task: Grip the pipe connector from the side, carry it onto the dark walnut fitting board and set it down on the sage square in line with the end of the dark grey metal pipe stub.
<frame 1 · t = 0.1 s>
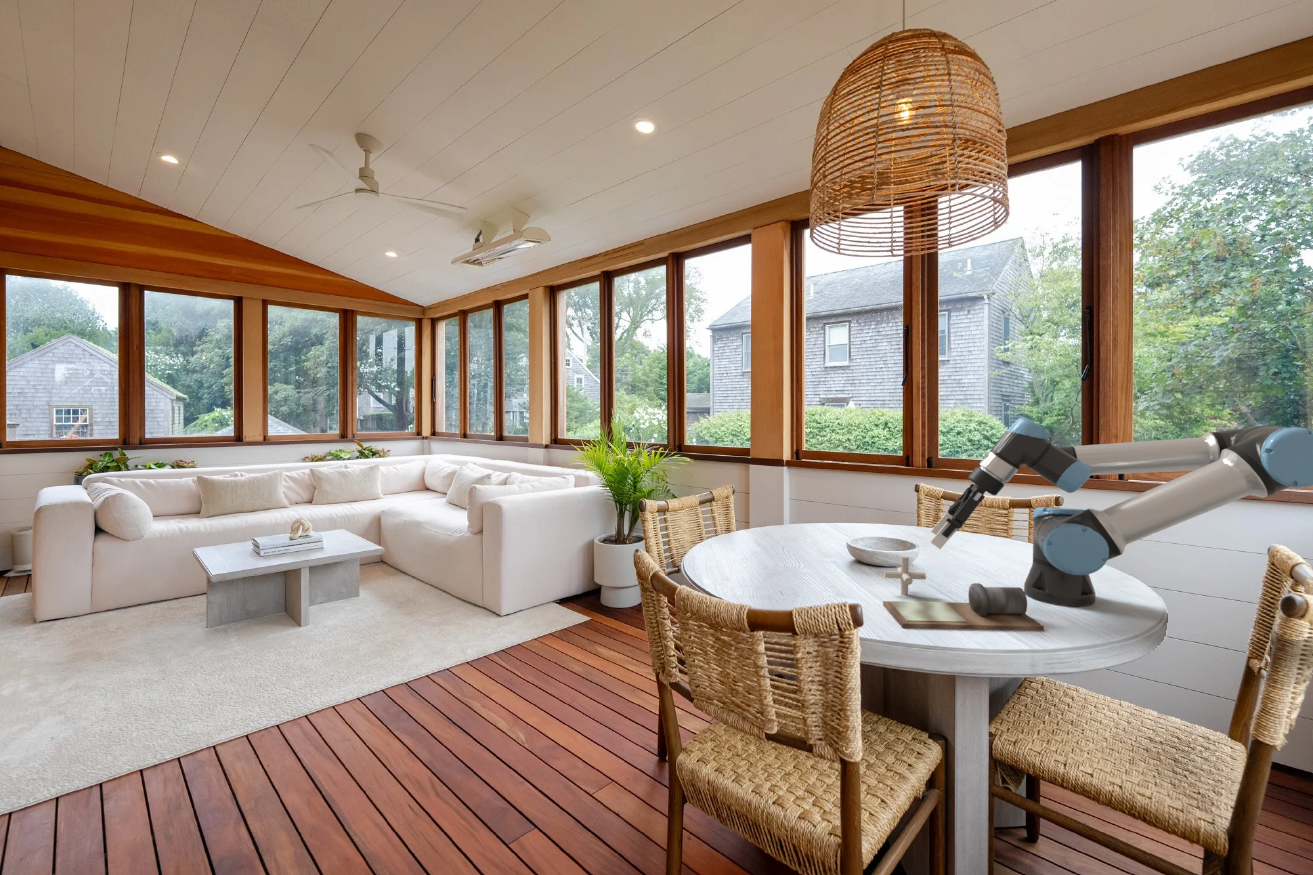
hand: (935, 539, 151), 15 cm above the table, tool tilted 35°, fingers open, 13 cm apart
fitting board: (958, 617, 138), on the table
pipe connector: (904, 594, 155), on the table
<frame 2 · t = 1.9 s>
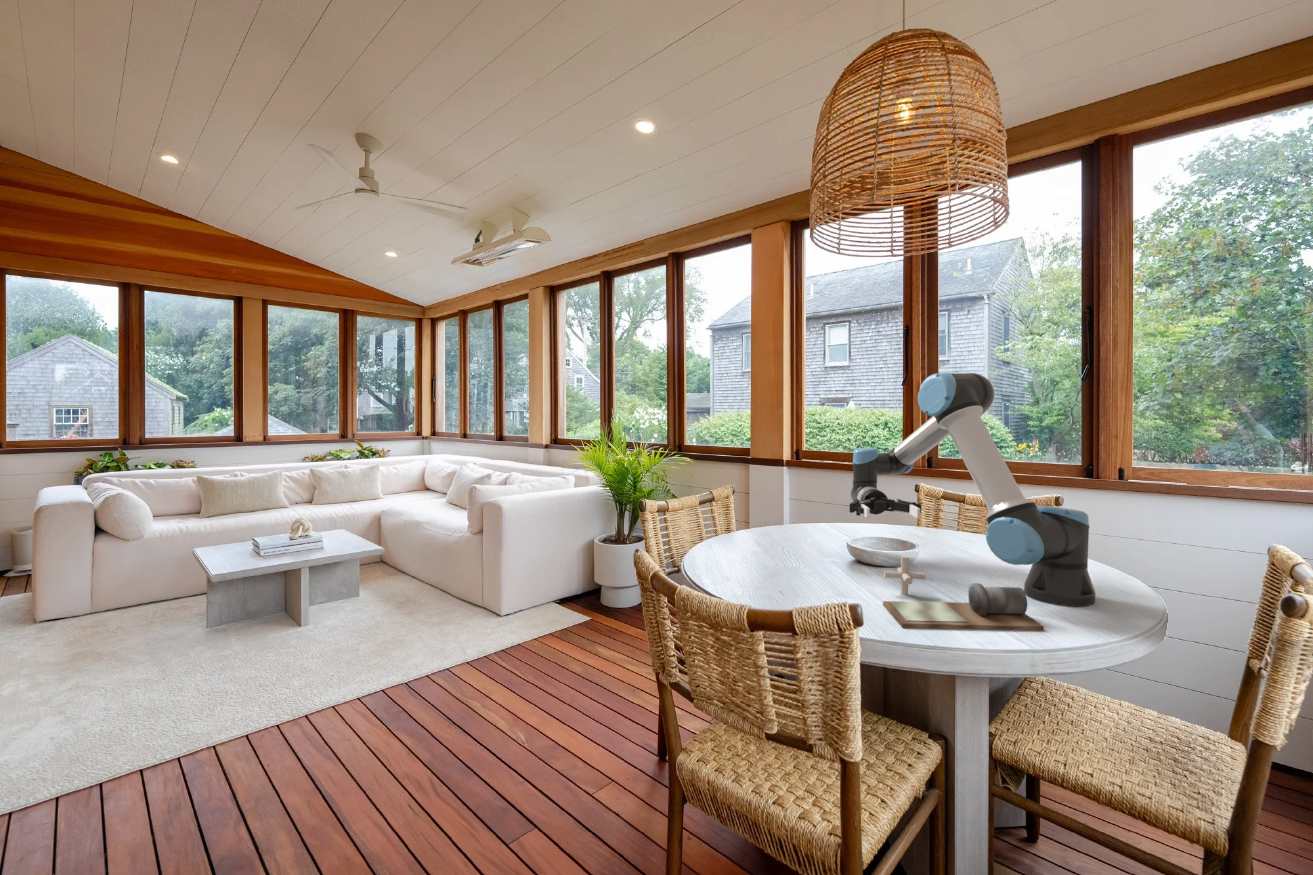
hand: (893, 513, 164), 20 cm above the table, tool horizontal, fingers open, 13 cm apart
nothing on the table moved.
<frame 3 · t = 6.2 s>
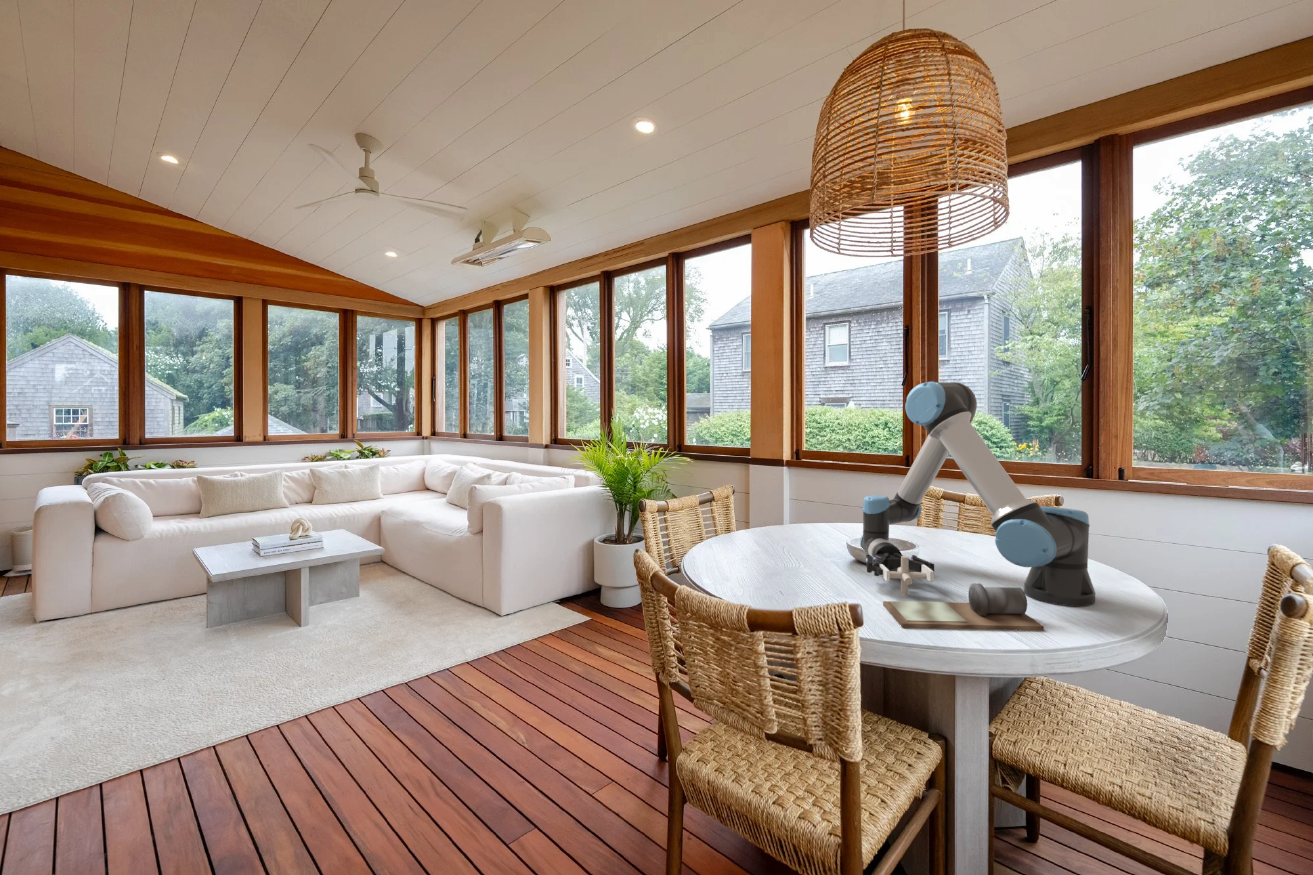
hand: (910, 576, 151), 6 cm above the table, tool horizontal, fingers closed on pipe connector, 10 cm apart
pipe connector: (904, 594, 155), on the table, touching gripper
when the fingers open (9 cm above the table, at t = 11.6 s): pipe connector drops 1 cm, resting on fitting board.
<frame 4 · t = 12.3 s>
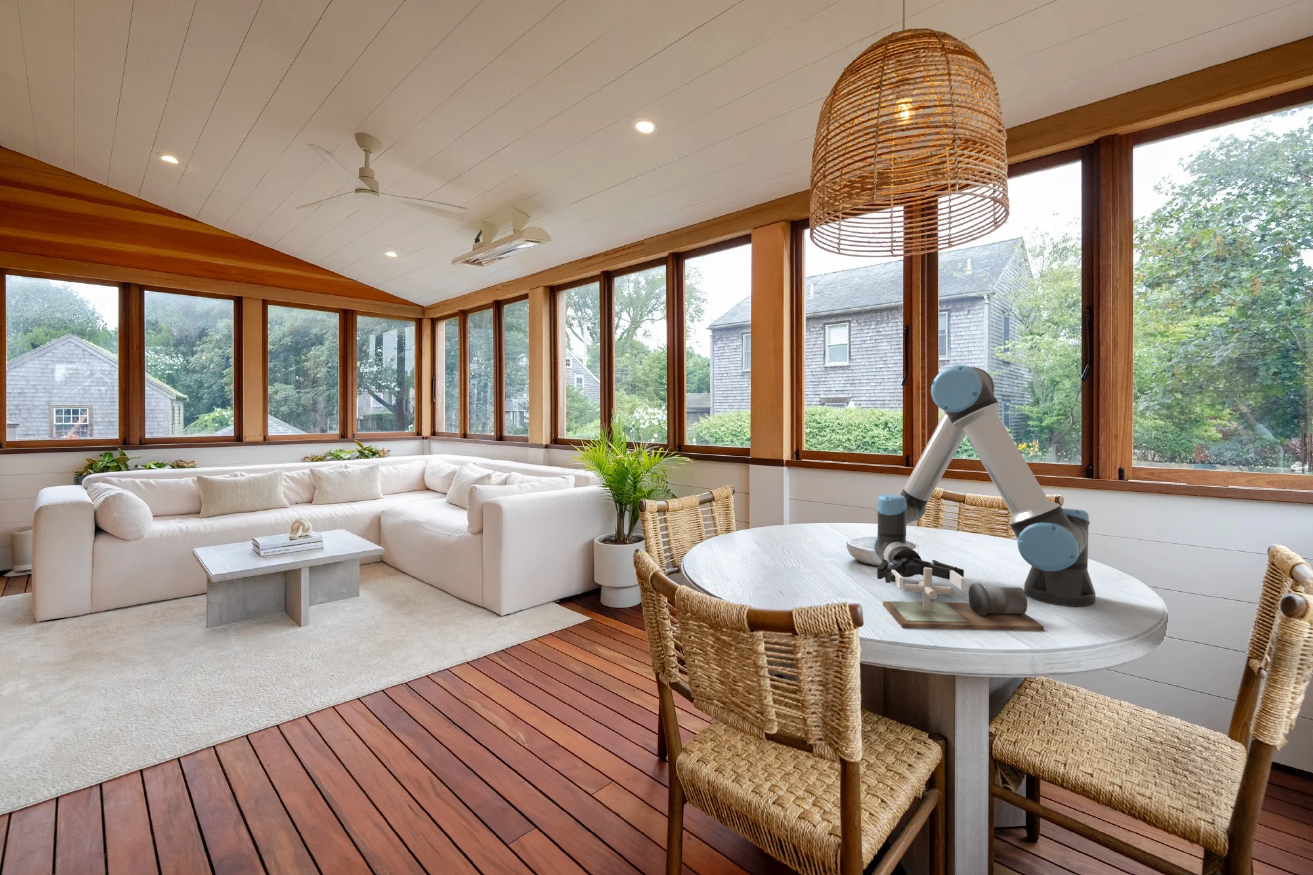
hand: (932, 583, 136), 9 cm above the table, tool horizontal, fingers open, 13 cm apart
pipe connector: (926, 611, 139), point 1 cm above the table, touching fitting board
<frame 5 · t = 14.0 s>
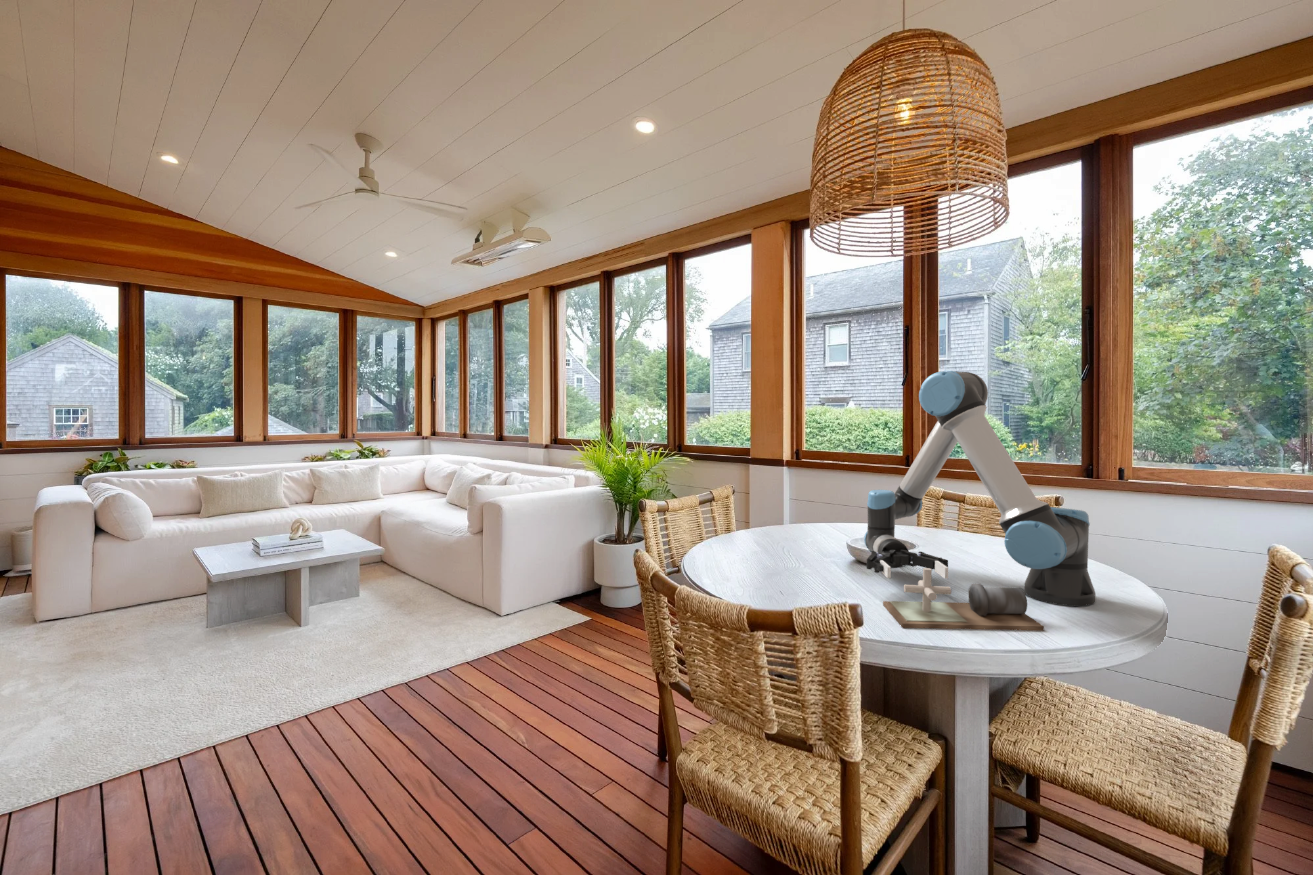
hand: (917, 573, 144), 9 cm above the table, tool horizontal, fingers open, 13 cm apart
nothing on the table moved.
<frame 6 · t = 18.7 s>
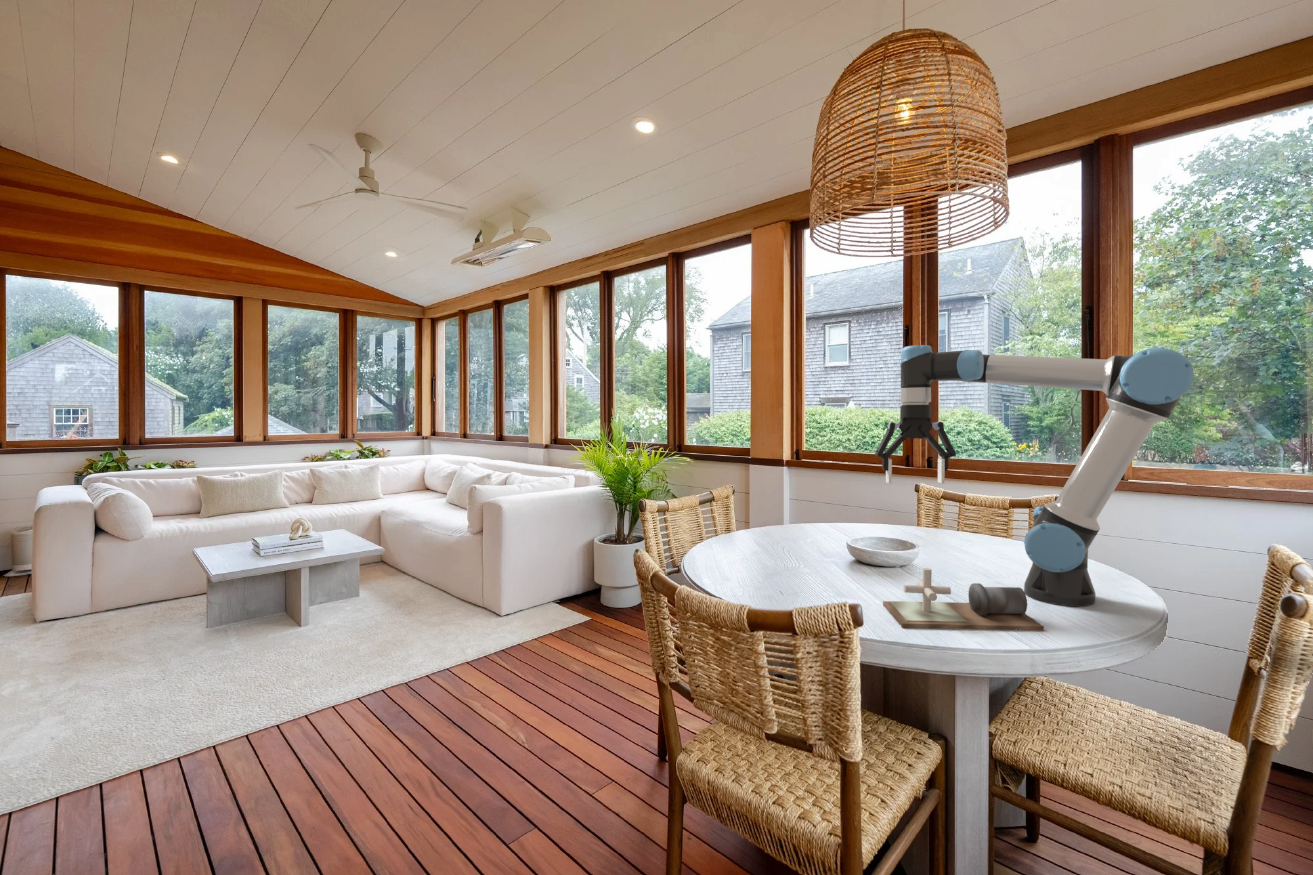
hand: (914, 482, 159), 29 cm above the table, tool pointing down, fingers open, 13 cm apart
nothing on the table moved.
at the end: pipe connector 0.1 cm from the target spot, point 1.0 cm above the table; pipe connector tilted 1°; the gripper is holding nothing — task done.
